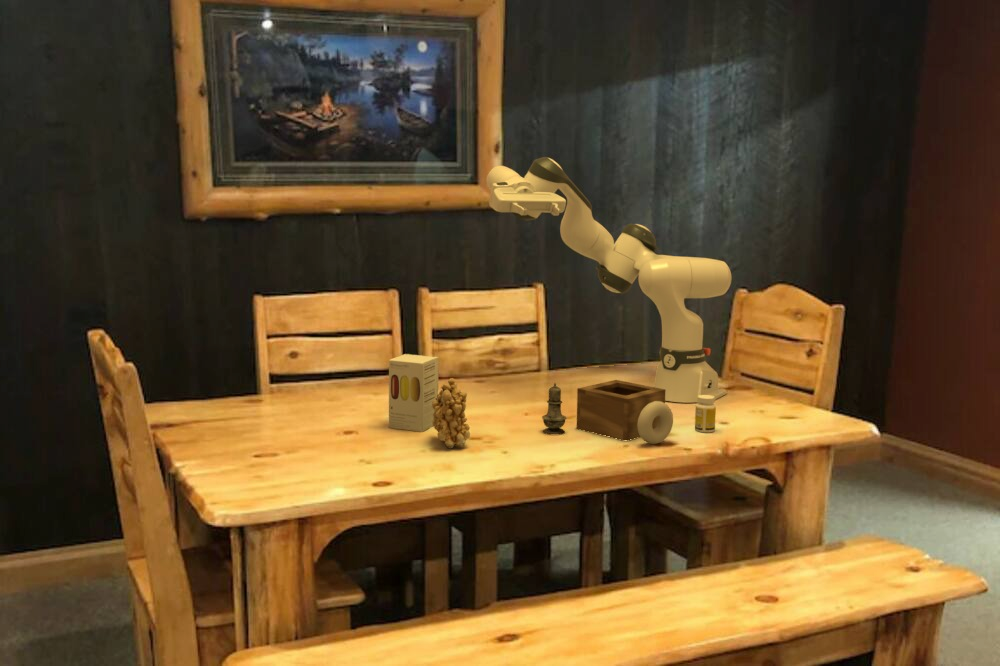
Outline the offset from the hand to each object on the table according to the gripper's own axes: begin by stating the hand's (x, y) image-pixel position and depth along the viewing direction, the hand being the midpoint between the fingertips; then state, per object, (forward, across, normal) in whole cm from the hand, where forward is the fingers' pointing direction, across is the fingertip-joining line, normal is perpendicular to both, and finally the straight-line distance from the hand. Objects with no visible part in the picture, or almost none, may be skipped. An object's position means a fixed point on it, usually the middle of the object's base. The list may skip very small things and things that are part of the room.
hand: (541, 212), depth 239 cm
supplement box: (+24, +38, -47) cm, 64 cm away
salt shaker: (+41, +9, -41) cm, 58 cm away
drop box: (+45, -7, -39) cm, 60 cm away
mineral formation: (+40, +36, -41) cm, 68 cm away
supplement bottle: (+53, -26, -36) cm, 69 cm away
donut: (+58, -8, -35) cm, 68 cm away
